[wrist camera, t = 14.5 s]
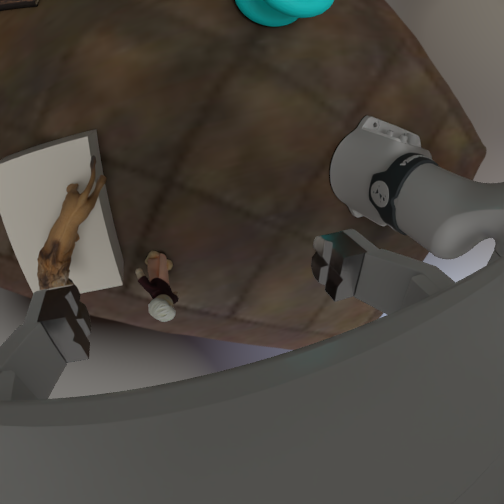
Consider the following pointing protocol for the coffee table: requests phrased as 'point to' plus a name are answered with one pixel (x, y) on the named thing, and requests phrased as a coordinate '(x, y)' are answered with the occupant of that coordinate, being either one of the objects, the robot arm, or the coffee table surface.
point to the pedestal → (59, 210)
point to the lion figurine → (67, 233)
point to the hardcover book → (17, 4)
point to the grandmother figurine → (158, 286)
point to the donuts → (281, 10)
